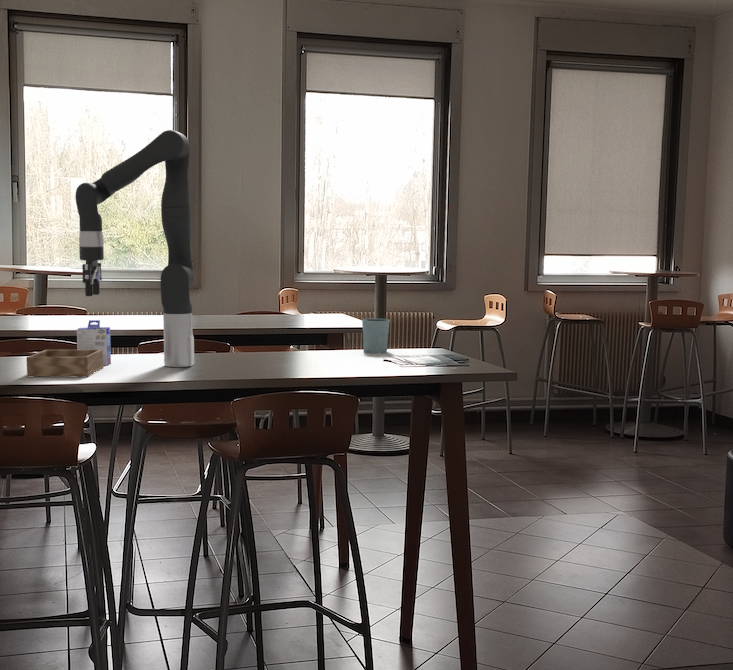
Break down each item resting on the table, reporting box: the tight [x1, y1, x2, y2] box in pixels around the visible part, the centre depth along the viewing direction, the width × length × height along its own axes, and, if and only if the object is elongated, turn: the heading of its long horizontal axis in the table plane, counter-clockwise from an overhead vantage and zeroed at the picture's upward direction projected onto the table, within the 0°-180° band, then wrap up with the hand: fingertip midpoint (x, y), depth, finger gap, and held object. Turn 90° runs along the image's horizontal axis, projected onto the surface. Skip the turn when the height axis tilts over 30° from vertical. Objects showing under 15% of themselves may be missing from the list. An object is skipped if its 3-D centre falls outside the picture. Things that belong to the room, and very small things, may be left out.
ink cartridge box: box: [76, 319, 112, 366], centre depth 300 cm, size 10×6×14 cm, turn 93°
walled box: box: [26, 349, 104, 377], centre depth 282 cm, size 18×18×6 cm
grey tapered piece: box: [361, 317, 391, 354], centre depth 335 cm, size 10×10×12 cm
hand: (92, 295), depth 298 cm, fingers open, 8 cm apart
